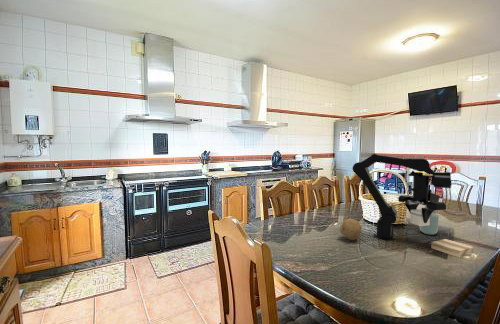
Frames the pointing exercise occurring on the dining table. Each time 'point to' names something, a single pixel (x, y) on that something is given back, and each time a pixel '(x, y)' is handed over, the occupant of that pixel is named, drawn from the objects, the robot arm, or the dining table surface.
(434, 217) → the cup
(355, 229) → the natural sponge
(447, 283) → the dining table surface
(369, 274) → the dining table surface
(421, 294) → the dining table surface
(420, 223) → the white lidded box
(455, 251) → the oak block
